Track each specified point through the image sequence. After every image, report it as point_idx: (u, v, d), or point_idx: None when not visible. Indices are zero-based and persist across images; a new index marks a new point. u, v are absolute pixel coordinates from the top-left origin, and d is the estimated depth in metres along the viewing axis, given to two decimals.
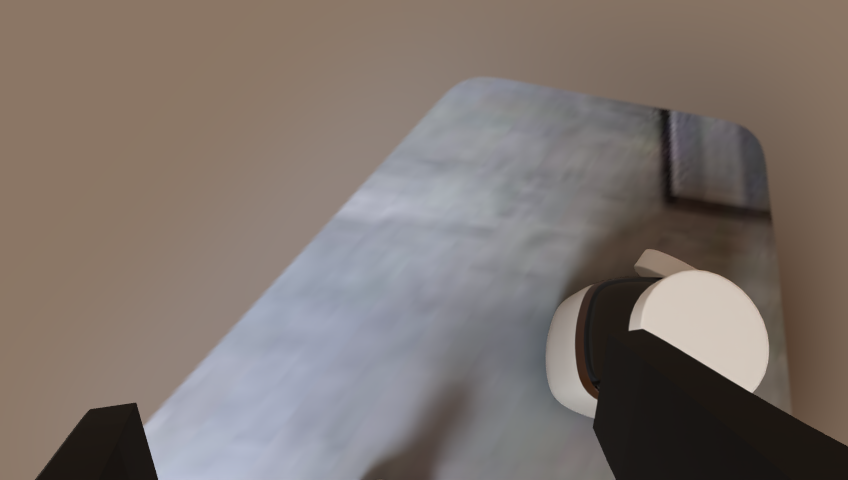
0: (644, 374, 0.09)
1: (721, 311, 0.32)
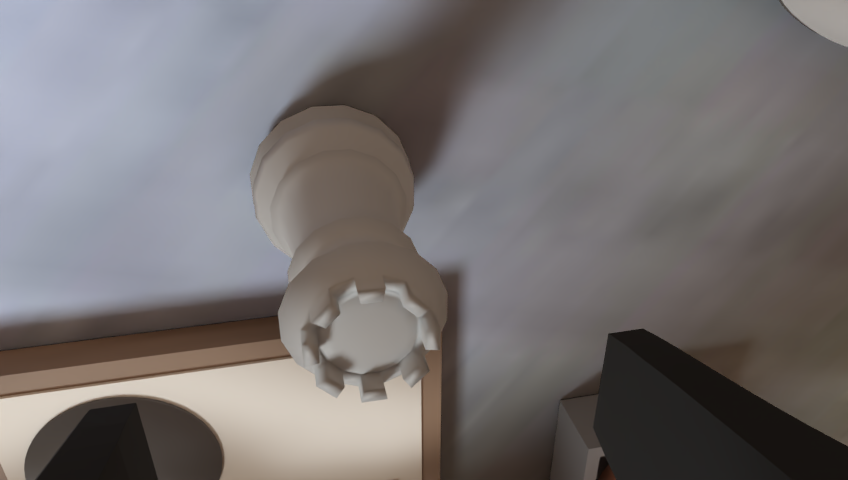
0: (644, 374, 0.09)
1: None
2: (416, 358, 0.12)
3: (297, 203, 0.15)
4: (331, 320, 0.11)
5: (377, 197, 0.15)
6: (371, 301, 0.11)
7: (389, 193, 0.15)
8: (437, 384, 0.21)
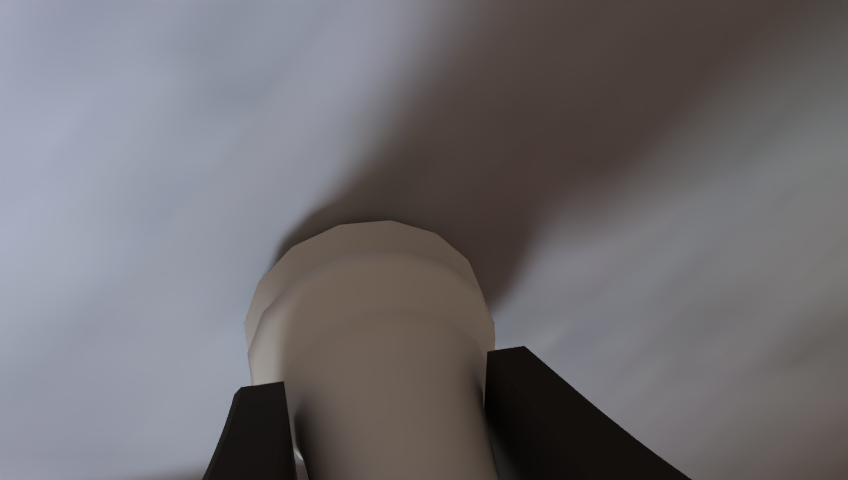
0: (511, 395, 0.09)
1: None
2: None
3: (322, 413, 0.09)
4: None
5: (458, 407, 0.09)
6: None
7: (470, 384, 0.09)
8: None
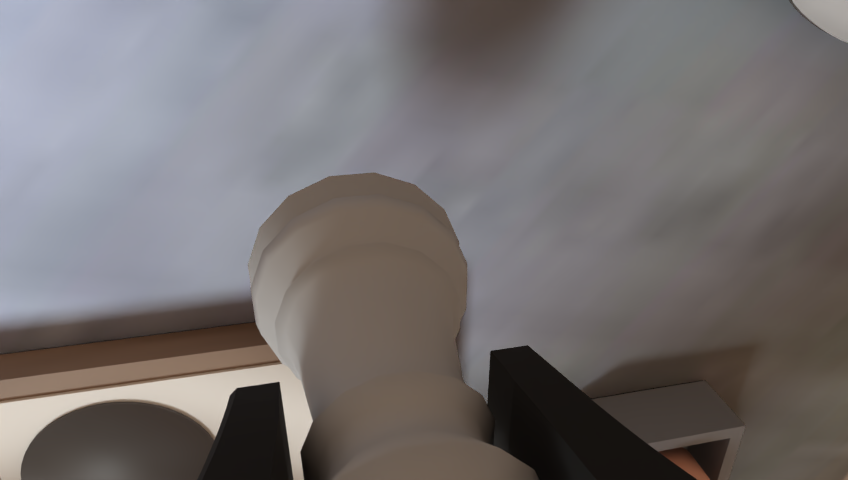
0: (515, 395, 0.09)
1: None
2: None
3: (313, 326, 0.10)
4: None
5: (427, 319, 0.10)
6: None
7: (440, 305, 0.11)
8: None
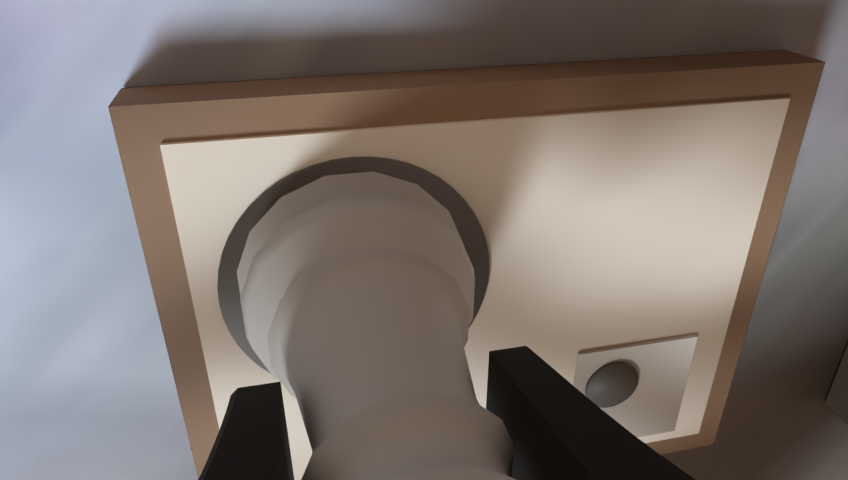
0: (514, 395, 0.09)
1: None
2: None
3: (311, 341, 0.09)
4: None
5: (437, 333, 0.09)
6: None
7: (448, 316, 0.10)
8: (786, 180, 0.15)
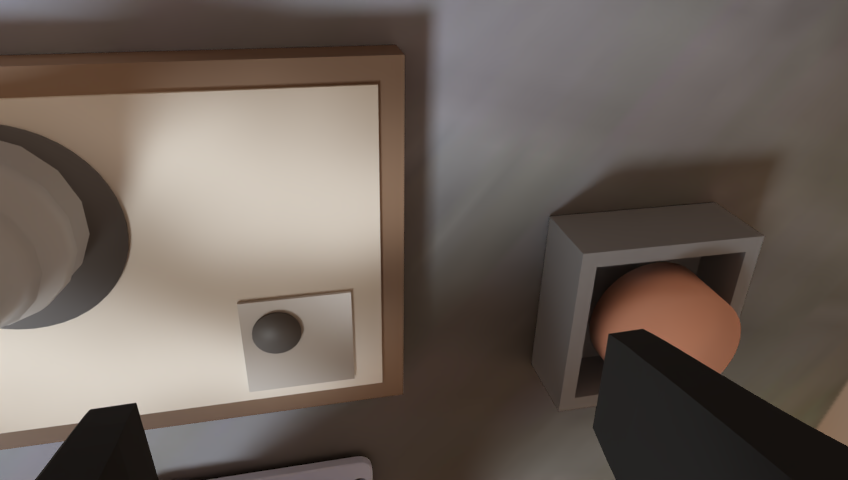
0: (644, 374, 0.09)
1: None
2: None
3: None
4: None
5: None
6: None
7: None
8: (399, 156, 0.17)
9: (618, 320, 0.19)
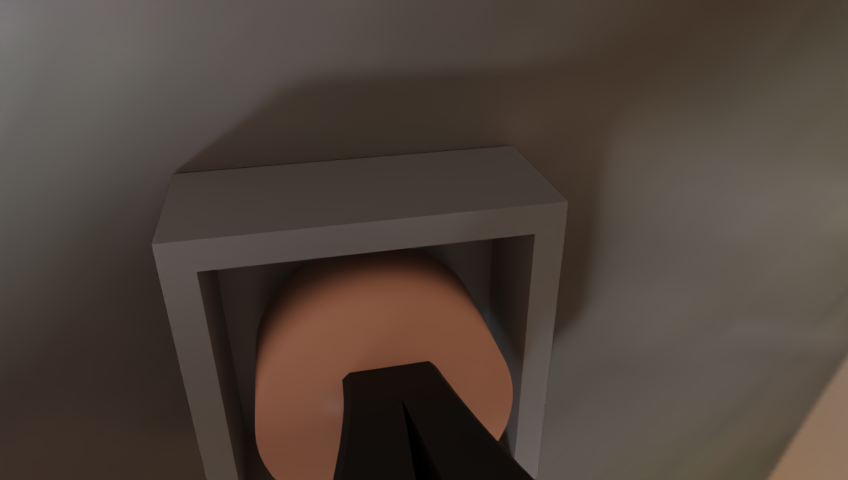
0: None
1: None
2: None
3: None
4: None
5: None
6: None
7: None
8: None
9: (262, 360, 0.10)
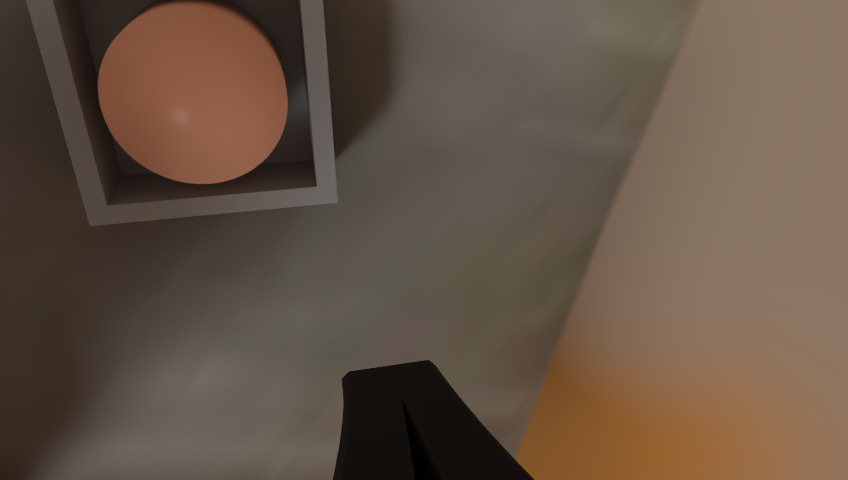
0: (403, 413, 0.09)
1: None
2: None
3: None
4: None
5: None
6: None
7: None
8: None
9: None
